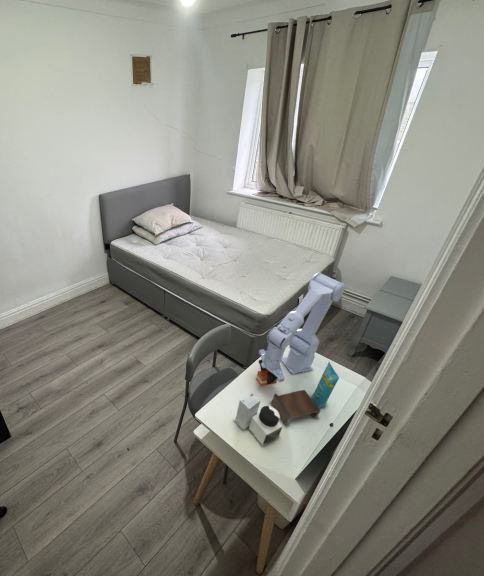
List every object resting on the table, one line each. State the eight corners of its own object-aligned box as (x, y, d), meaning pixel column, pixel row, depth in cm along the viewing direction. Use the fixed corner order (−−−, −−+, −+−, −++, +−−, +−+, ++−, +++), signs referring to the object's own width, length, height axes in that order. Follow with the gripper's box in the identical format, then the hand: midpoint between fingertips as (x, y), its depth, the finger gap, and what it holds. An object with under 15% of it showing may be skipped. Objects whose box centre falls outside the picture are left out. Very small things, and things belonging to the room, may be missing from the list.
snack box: (271, 376, 122) (274, 367, 119) (276, 383, 119) (279, 375, 116) (255, 379, 121) (257, 371, 118) (260, 386, 118) (262, 378, 115)
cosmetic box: (243, 430, 106) (249, 410, 99) (234, 420, 109) (238, 400, 102) (255, 421, 109) (261, 401, 102) (245, 412, 112) (251, 391, 105)
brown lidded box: (301, 396, 116) (305, 387, 113) (317, 417, 109) (322, 407, 106) (270, 403, 114) (274, 393, 111) (284, 425, 107) (288, 415, 104)
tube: (306, 394, 117) (321, 360, 106) (319, 393, 117) (335, 360, 106) (316, 411, 111) (333, 377, 100) (329, 410, 111) (347, 377, 100)
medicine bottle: (262, 446, 101) (270, 426, 94) (248, 428, 107) (254, 408, 100) (278, 437, 104) (287, 417, 97) (263, 420, 109) (270, 400, 102)
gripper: (254, 343, 116) (248, 366, 124) (275, 372, 105) (267, 396, 112) (270, 340, 117) (263, 363, 125) (293, 368, 106) (284, 392, 113)
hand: (266, 378), depth 119 cm, fingers closed on snack box, 4 cm apart
